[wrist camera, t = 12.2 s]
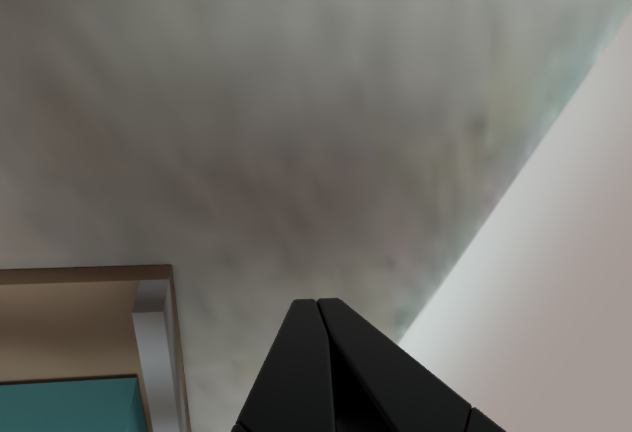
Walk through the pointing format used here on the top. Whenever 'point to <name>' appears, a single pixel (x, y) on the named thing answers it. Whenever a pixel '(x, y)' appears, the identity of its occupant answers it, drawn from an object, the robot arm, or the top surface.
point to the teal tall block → (72, 407)
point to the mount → (97, 333)
